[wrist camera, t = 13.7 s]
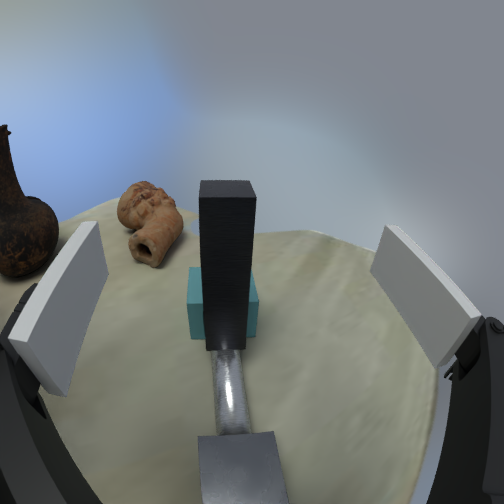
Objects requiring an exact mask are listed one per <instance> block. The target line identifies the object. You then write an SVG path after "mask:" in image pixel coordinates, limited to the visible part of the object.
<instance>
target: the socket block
mask: <svg viewBox="0 0 504 504" xmlns="http://www.w3.org/2000/svg"><path fill="white" fill-rule="evenodd" d="M258 305H259V300H258V296H257V291H256V287H255V283H254V278H253V274H252V270H251V279H250V293H249V307H248V320H247V334H246V337H255V334H256V324H257V315H258ZM187 310H188V319H189V327H190V334H191V339H205V327H204V313H203V298H202V280H201V267H189V279H188V292H187Z"/></svg>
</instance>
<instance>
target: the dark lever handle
mask: <svg viewBox="0 0 504 504" xmlns="http://www.w3.org/2000/svg"><path fill="white" fill-rule="evenodd" d="M256 198H257V197H256V195H255V193H254V190H253V188H252V186H251V183H250V181H242V180H233V181H232V180H214V181H213V180H207V181H206V180H205V181H204V180H201V183H200V191H199V230H200V259H201V280H202V298H203V313H204V327H205V340H206V351H212V370H213V387H214V402H215V415H216V428H217V436H224V435H240V434H252V433H251V427H250V421H249V414H248V408H247V401H246V394H245V387H244V380H243V374H242V366H241V359H240V352H239V350H242V349H245V347H246V334H247V320H248V307H249V293H250V279H251V266H252V252H253V239H254V225H255V212H256Z"/></svg>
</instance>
